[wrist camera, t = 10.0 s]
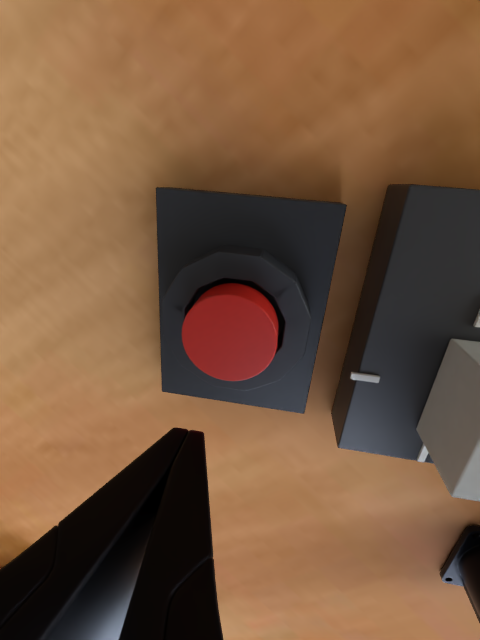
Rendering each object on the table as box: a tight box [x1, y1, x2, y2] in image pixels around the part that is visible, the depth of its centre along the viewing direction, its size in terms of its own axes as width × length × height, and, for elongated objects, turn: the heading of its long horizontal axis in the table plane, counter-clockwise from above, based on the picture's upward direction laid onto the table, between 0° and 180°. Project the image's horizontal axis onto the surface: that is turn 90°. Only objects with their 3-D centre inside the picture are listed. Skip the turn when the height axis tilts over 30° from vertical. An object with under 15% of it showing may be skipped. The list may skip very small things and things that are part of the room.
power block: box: [156, 187, 347, 414], centre depth 17 cm, size 12×9×4 cm
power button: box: [182, 283, 279, 381], centre depth 15 cm, size 4×4×2 cm
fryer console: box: [331, 184, 480, 463], centre depth 16 cm, size 14×10×3 cm
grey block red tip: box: [416, 339, 480, 501], centre depth 13 cm, size 6×2×4 cm, turn 176°
